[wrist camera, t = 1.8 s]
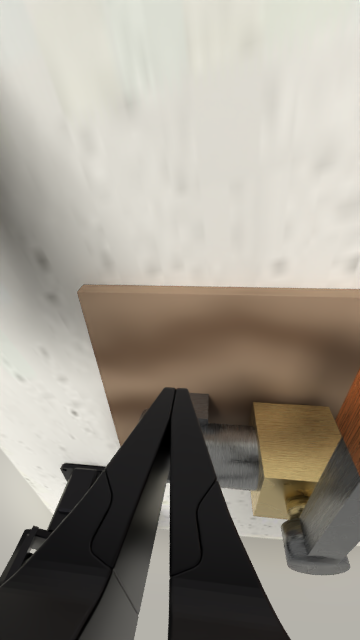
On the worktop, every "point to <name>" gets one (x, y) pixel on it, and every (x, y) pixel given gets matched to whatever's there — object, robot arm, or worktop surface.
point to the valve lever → (331, 503)
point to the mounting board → (222, 346)
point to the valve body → (271, 453)
